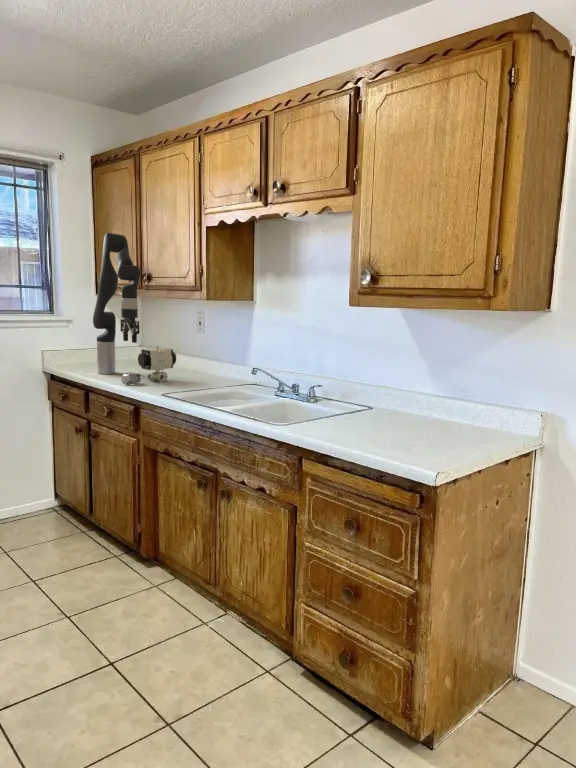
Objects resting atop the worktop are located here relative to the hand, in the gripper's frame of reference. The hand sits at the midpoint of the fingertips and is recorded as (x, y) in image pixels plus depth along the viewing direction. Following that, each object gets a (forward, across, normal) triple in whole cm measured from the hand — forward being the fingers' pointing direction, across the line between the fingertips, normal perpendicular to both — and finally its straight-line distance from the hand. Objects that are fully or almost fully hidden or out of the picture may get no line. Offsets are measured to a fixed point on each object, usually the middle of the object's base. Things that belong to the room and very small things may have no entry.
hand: (130, 341), depth 275 cm
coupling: (+21, 0, 0) cm, 21 cm away
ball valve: (+21, 0, +15) cm, 26 cm away
